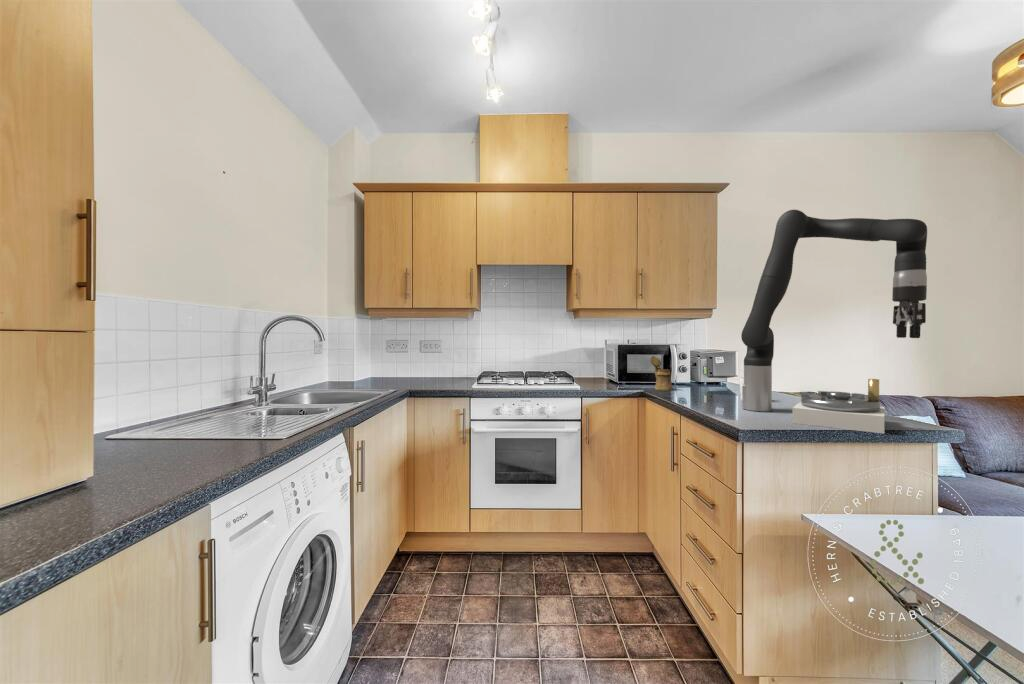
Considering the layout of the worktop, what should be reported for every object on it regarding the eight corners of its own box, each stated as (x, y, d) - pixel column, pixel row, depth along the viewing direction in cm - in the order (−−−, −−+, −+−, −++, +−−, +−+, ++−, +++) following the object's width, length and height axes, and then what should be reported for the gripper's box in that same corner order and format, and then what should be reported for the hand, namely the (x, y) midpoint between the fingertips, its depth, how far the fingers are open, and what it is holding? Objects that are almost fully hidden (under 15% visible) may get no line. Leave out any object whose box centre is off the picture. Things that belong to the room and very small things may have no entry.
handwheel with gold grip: (796, 406, 131) (796, 377, 130) (805, 399, 145) (805, 373, 145) (879, 414, 117) (879, 382, 117) (880, 405, 131) (880, 377, 131)
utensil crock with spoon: (659, 387, 225) (659, 355, 225) (676, 390, 212) (676, 356, 212) (646, 388, 222) (646, 356, 222) (662, 391, 209) (662, 357, 209)
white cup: (762, 402, 173) (762, 379, 173) (743, 401, 175) (743, 378, 174) (755, 399, 181) (755, 377, 181) (736, 398, 182) (736, 377, 182)
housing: (792, 423, 131) (792, 407, 130) (802, 413, 147) (802, 399, 147) (884, 433, 115) (884, 416, 115) (884, 421, 132) (884, 406, 131)
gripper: (883, 288, 132) (882, 337, 132) (904, 283, 119) (902, 338, 119) (913, 287, 129) (912, 337, 129) (938, 282, 116) (936, 338, 116)
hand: (907, 337), depth 124 cm, fingers open, 8 cm apart
